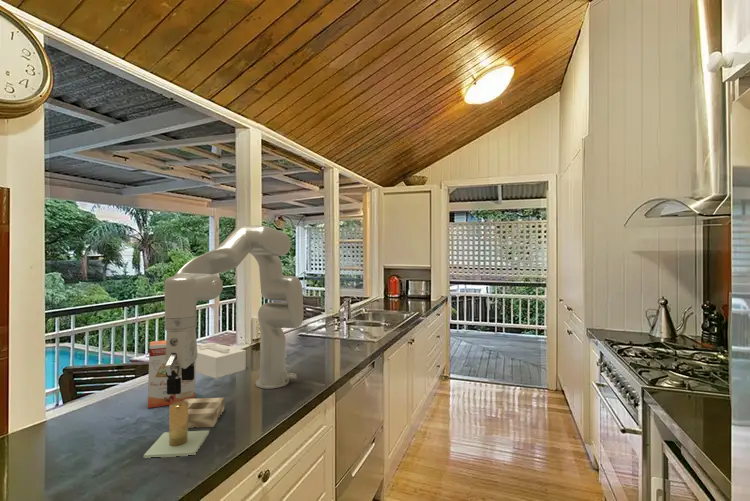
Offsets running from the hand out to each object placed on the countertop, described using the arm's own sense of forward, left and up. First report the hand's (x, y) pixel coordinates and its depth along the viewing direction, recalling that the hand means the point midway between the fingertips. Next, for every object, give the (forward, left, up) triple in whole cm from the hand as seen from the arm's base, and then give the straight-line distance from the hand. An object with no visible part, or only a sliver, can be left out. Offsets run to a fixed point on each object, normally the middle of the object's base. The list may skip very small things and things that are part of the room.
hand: (181, 386), depth 101 cm
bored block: (0, -15, -15) cm, 22 cm away
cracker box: (+13, -29, -16) cm, 36 cm away
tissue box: (+11, -67, -16) cm, 70 cm away
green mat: (0, +1, -15) cm, 15 cm away
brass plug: (0, +1, -14) cm, 14 cm away
